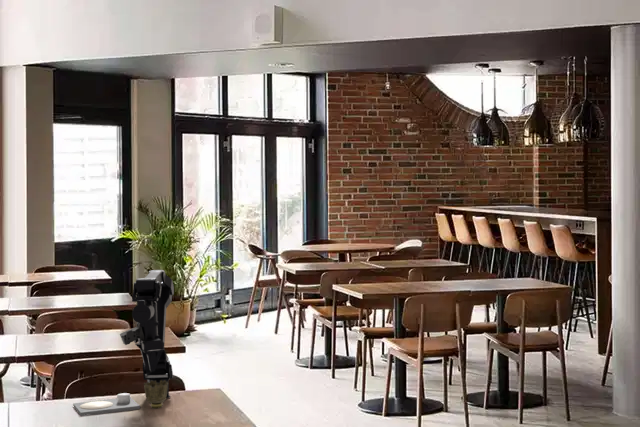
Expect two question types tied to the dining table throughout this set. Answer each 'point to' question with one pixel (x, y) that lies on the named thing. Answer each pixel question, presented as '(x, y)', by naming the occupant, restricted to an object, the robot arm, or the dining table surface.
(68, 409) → the dining table surface
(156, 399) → the cup
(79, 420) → the dining table surface
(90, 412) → the carrier plate
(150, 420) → the dining table surface
